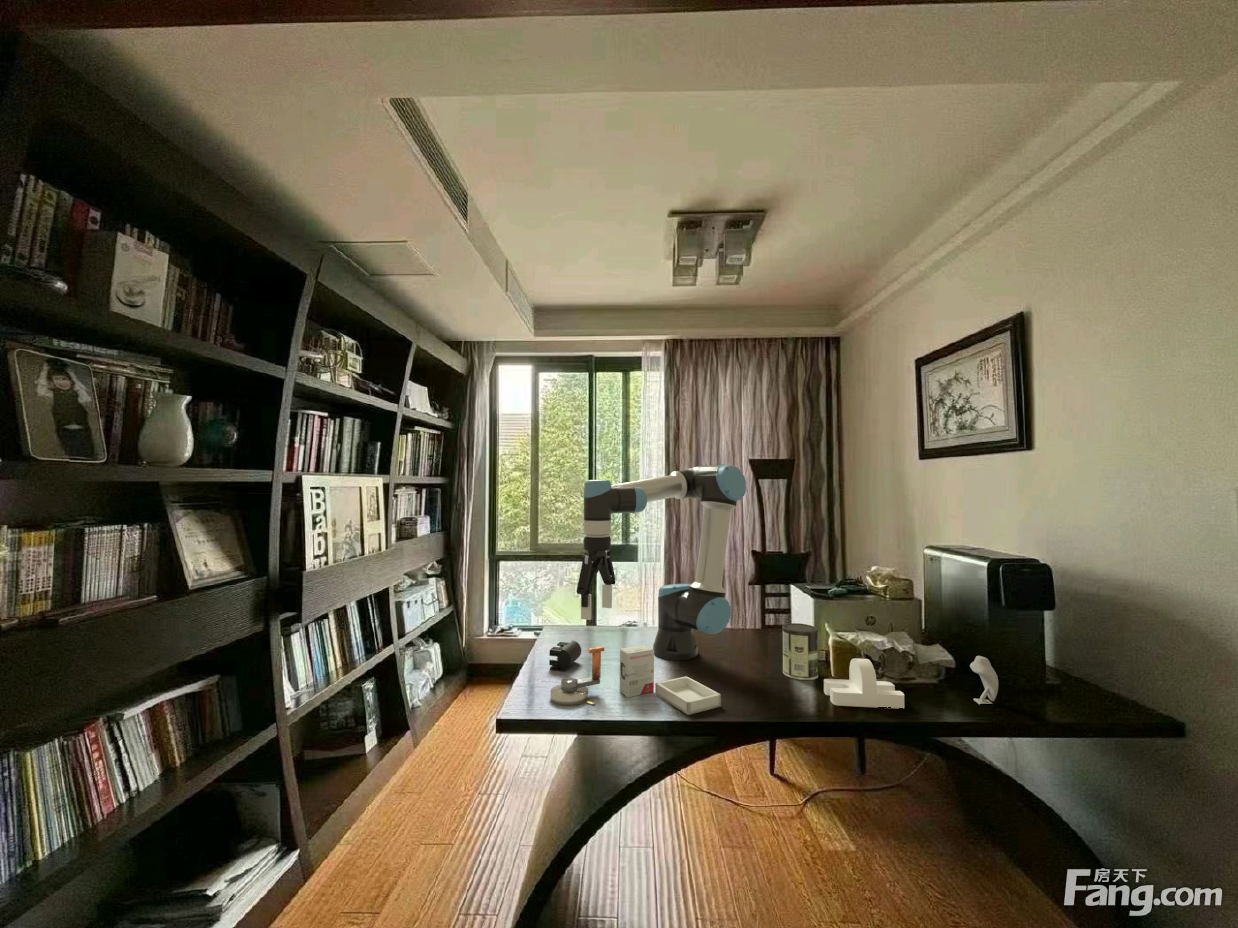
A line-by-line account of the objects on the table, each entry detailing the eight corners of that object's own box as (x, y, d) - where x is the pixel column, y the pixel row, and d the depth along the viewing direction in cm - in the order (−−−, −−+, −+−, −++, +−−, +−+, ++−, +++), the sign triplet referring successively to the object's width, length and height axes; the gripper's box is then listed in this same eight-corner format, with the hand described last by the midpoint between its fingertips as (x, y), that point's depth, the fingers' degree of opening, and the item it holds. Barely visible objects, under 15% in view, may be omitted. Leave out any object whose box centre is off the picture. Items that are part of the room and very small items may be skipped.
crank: (565, 692, 134) (565, 655, 134) (558, 687, 138) (559, 651, 138) (607, 684, 140) (607, 648, 140) (599, 678, 144) (599, 644, 144)
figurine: (1004, 709, 132) (1003, 662, 133) (981, 707, 133) (980, 660, 134) (988, 697, 140) (987, 652, 140) (966, 696, 140) (965, 651, 141)
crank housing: (578, 688, 143) (578, 680, 144) (598, 704, 133) (598, 696, 133) (544, 694, 139) (544, 687, 139) (562, 712, 128) (562, 704, 128)
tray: (686, 686, 145) (686, 676, 145) (721, 706, 132) (721, 694, 133) (655, 694, 140) (655, 682, 140) (688, 714, 127) (688, 702, 127)
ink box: (646, 686, 145) (646, 643, 146) (654, 692, 141) (655, 649, 141) (618, 691, 142) (618, 647, 142) (626, 698, 137) (627, 653, 138)
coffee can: (809, 667, 161) (808, 622, 162) (824, 680, 151) (824, 631, 152) (777, 668, 161) (777, 622, 161) (790, 680, 151) (790, 632, 151)
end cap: (570, 673, 155) (570, 650, 156) (548, 670, 157) (548, 648, 158) (581, 662, 165) (581, 640, 165) (560, 660, 167) (561, 638, 167)
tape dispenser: (906, 709, 132) (905, 667, 133) (833, 706, 134) (833, 664, 134) (890, 694, 142) (889, 655, 142) (822, 691, 143) (822, 652, 144)
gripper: (603, 531, 155) (603, 602, 154) (563, 539, 132) (563, 622, 131) (626, 532, 152) (626, 604, 151) (589, 540, 129) (589, 626, 128)
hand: (597, 613), depth 141 cm, fingers open, 13 cm apart
